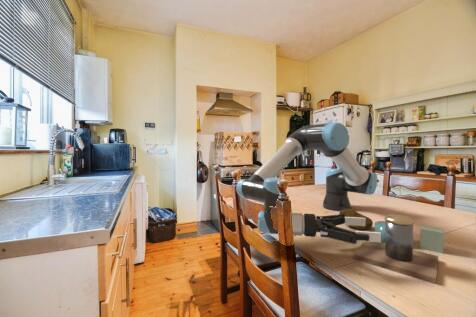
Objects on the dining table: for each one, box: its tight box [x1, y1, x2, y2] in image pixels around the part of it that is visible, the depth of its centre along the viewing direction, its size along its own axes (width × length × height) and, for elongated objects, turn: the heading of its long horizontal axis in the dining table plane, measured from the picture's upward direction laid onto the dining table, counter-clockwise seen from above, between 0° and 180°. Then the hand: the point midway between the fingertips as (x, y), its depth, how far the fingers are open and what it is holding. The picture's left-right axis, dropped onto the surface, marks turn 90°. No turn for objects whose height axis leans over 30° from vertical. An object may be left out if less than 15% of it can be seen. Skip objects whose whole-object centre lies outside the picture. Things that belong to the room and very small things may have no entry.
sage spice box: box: [419, 224, 445, 254], centre depth 78 cm, size 6×5×7 cm
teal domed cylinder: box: [374, 220, 385, 243], centre depth 85 cm, size 10×10×6 cm
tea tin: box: [384, 213, 415, 262], centre depth 70 cm, size 7×7×12 cm
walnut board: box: [352, 241, 439, 285], centre depth 71 cm, size 20×16×2 cm
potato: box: [338, 208, 374, 230], centre depth 99 cm, size 8×13×8 cm, turn 52°
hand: (372, 229), depth 71 cm, fingers open, 13 cm apart
